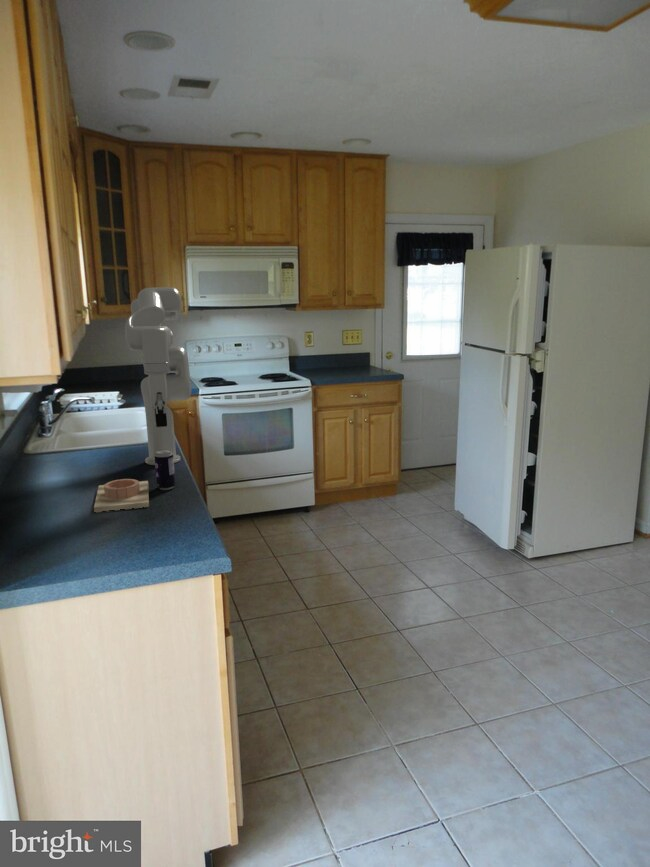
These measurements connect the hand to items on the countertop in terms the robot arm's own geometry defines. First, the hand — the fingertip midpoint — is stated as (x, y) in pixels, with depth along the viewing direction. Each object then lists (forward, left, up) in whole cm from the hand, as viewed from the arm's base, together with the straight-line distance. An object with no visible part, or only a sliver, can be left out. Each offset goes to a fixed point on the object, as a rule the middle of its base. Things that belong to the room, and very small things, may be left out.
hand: (161, 423), depth 196 cm
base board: (+6, -13, -21) cm, 25 cm away
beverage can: (0, 0, -21) cm, 21 cm away
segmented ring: (+6, -13, -19) cm, 24 cm away
